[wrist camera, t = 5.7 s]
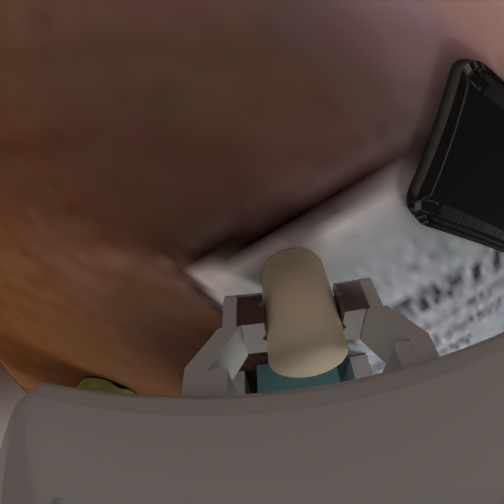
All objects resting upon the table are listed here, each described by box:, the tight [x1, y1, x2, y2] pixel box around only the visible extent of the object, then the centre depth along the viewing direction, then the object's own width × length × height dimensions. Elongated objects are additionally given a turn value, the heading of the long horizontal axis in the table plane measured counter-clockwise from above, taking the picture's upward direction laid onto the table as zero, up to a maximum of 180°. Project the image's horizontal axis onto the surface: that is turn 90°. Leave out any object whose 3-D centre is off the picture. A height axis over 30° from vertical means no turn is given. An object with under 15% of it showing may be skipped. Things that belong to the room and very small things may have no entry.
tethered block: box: [257, 248, 348, 393], centre depth 13 cm, size 5×14×7 cm, turn 7°
